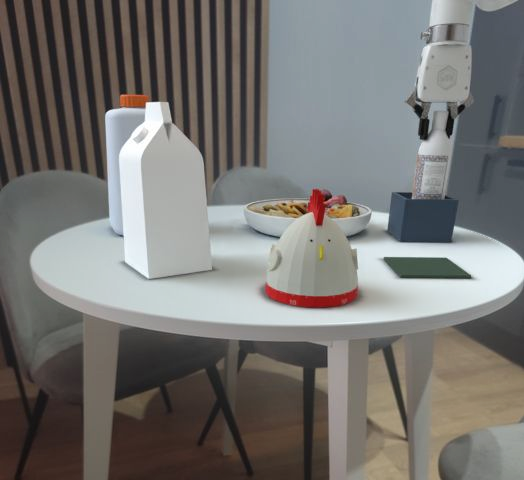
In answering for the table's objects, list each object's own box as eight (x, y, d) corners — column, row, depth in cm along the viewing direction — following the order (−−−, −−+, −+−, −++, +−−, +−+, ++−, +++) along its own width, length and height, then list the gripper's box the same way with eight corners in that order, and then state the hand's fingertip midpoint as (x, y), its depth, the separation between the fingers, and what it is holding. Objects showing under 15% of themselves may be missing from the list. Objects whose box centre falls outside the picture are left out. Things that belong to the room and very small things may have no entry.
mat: (445, 260, 95) (446, 257, 94) (470, 278, 84) (471, 275, 84) (383, 259, 94) (383, 256, 94) (400, 277, 84) (400, 274, 83)
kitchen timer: (270, 308, 69) (273, 196, 63) (261, 279, 81) (262, 183, 75) (368, 306, 70) (380, 196, 64) (344, 278, 83) (352, 184, 76)
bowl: (354, 248, 102) (358, 209, 99) (222, 235, 112) (222, 199, 108) (379, 223, 127) (383, 191, 124) (270, 214, 137) (271, 184, 134)
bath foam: (417, 206, 115) (431, 111, 107) (446, 210, 112) (463, 111, 103) (404, 209, 111) (418, 110, 102) (435, 213, 107) (452, 110, 98)
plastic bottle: (184, 234, 112) (178, 95, 100) (116, 238, 107) (100, 92, 95) (170, 222, 125) (163, 97, 113) (108, 225, 120) (93, 95, 108)
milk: (212, 269, 86) (207, 102, 75) (148, 279, 81) (133, 100, 70) (183, 254, 95) (176, 103, 84) (125, 262, 90) (108, 101, 79)
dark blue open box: (434, 231, 119) (440, 192, 115) (451, 242, 109) (459, 199, 105) (387, 231, 119) (391, 192, 115) (399, 241, 108) (405, 199, 105)
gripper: (410, 35, 94) (399, 140, 101) (498, 35, 94) (480, 140, 102) (399, 41, 101) (390, 139, 108) (481, 41, 101) (466, 139, 109)
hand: (434, 138), depth 105 cm, fingers closed on bath foam, 4 cm apart
